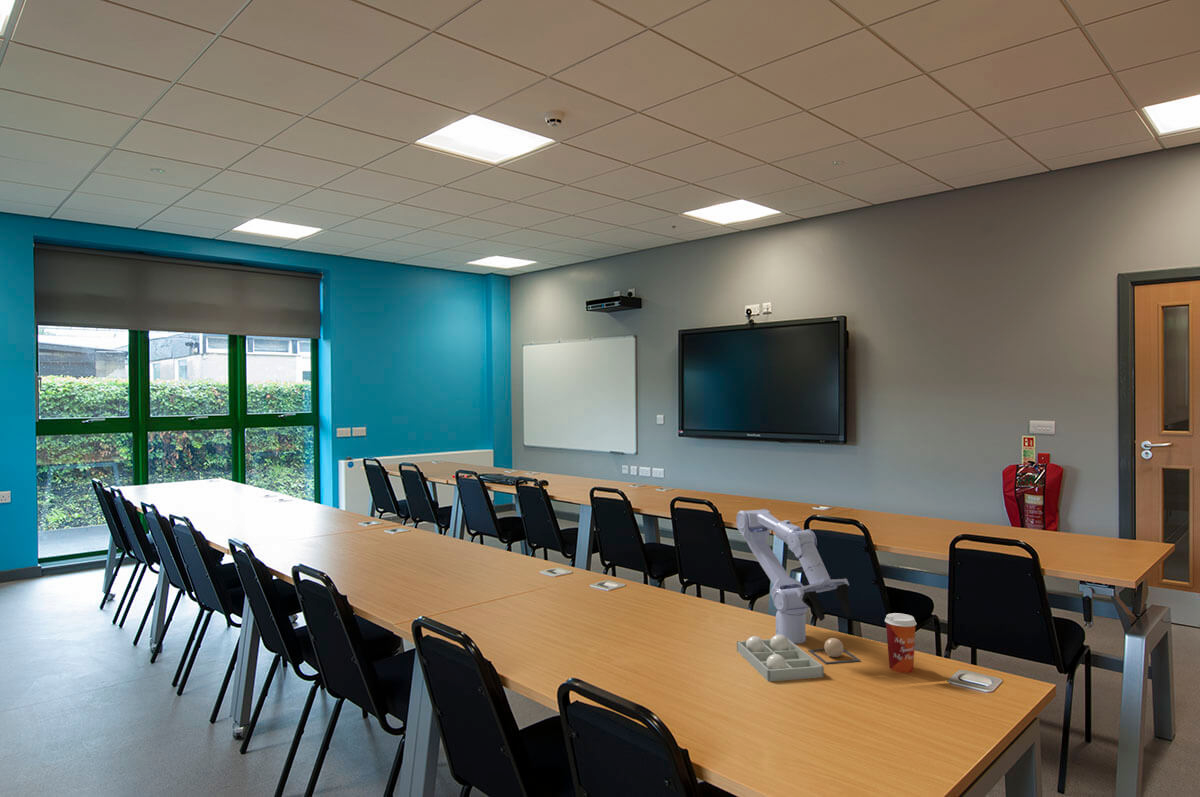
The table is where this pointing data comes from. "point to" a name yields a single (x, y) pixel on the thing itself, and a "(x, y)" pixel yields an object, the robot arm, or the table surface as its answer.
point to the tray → (796, 660)
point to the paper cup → (900, 641)
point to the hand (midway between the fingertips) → (835, 616)
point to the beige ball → (833, 647)
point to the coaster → (834, 661)
